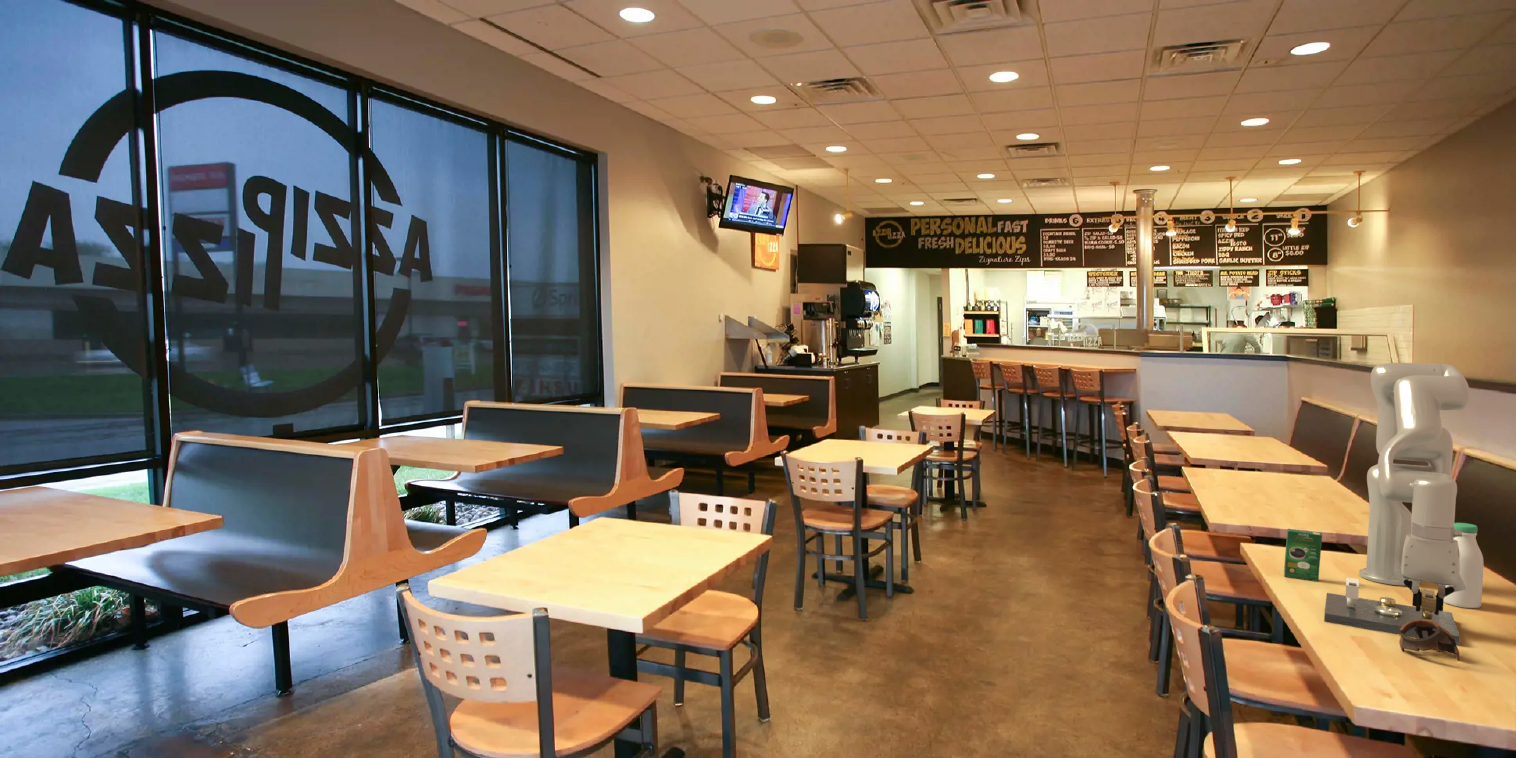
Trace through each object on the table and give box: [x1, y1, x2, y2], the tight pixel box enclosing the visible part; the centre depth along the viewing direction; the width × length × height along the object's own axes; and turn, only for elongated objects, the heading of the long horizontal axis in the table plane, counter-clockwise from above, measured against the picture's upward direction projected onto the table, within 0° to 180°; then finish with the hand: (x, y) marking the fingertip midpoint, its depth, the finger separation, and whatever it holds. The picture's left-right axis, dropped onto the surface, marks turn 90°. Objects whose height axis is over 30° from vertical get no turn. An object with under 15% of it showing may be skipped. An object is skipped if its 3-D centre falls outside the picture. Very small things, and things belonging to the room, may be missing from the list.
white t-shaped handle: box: [1345, 577, 1360, 607], centre depth 195 cm, size 7×2×6 cm, turn 144°
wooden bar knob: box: [1420, 588, 1436, 619], centre depth 187 cm, size 7×2×6 cm, turn 144°
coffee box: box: [1283, 528, 1323, 582], centre depth 223 cm, size 8×3×13 cm, turn 58°
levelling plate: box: [1323, 592, 1461, 646], centre depth 191 cm, size 18×24×4 cm
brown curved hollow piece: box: [1399, 618, 1461, 662], centre depth 173 cm, size 12×10×8 cm
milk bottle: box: [1443, 522, 1484, 609], centre depth 203 cm, size 8×8×20 cm
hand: (1427, 610), depth 187 cm, fingers closed on wooden bar knob, 2 cm apart
